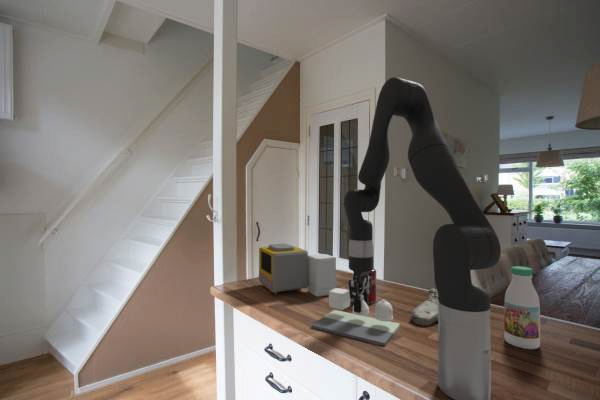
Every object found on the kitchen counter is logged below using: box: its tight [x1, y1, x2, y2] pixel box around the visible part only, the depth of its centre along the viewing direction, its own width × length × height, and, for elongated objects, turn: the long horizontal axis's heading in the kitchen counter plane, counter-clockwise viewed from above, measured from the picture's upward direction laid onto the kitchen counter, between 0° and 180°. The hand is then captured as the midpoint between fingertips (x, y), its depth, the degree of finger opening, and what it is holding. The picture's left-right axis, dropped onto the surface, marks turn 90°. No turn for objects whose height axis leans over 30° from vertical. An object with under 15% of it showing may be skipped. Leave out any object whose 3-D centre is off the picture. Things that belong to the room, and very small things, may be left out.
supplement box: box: [307, 253, 337, 298], centre depth 127 cm, size 9×9×15 cm
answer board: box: [311, 309, 401, 347], centre depth 93 cm, size 22×15×1 cm
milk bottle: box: [503, 265, 541, 350], centre depth 83 cm, size 8×8×20 cm
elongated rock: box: [410, 287, 438, 327], centre depth 108 cm, size 35×5×10 cm
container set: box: [328, 287, 394, 322], centre depth 97 cm, size 20×5×6 cm, turn 53°
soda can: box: [358, 267, 377, 305], centre depth 117 cm, size 7×7×12 cm
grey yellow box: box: [258, 243, 309, 296], centre depth 133 cm, size 20×16×18 cm
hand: (361, 308), depth 97 cm, fingers closed on container set, 5 cm apart
